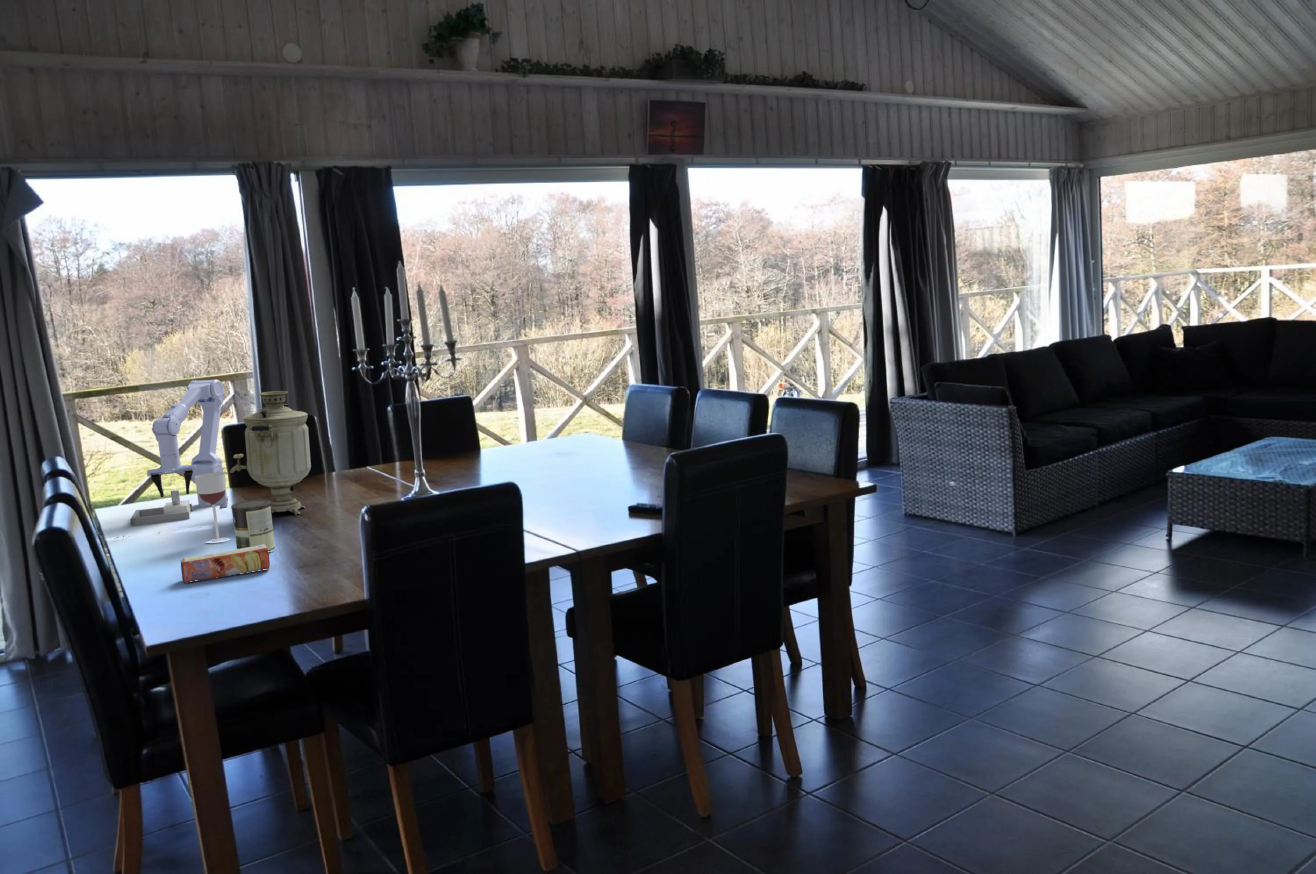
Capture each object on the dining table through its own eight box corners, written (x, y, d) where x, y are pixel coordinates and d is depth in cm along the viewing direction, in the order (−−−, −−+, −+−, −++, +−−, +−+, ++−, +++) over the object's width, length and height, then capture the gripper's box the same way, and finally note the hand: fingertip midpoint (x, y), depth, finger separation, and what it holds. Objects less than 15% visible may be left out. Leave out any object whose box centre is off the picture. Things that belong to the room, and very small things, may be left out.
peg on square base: (190, 511, 346) (187, 487, 345) (188, 517, 338) (185, 491, 337) (167, 514, 344) (164, 489, 343) (164, 520, 336) (161, 494, 334)
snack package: (182, 586, 264) (179, 560, 262) (183, 579, 270) (179, 554, 268) (271, 572, 272) (268, 547, 271) (269, 566, 278) (266, 541, 277)
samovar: (267, 502, 360) (254, 388, 354) (336, 502, 355) (324, 386, 348) (215, 524, 331) (199, 400, 325) (289, 523, 326) (274, 397, 320)
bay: (193, 513, 349) (191, 503, 348) (189, 522, 336) (188, 511, 335) (137, 520, 343) (135, 510, 343) (132, 529, 330) (130, 518, 330)
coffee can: (232, 558, 287) (225, 508, 285) (243, 548, 297) (237, 500, 295) (270, 555, 288) (264, 506, 286) (280, 546, 298) (274, 498, 296)
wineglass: (239, 537, 311) (231, 472, 308) (218, 545, 303) (209, 478, 300) (218, 536, 314) (209, 471, 311) (196, 544, 306) (188, 478, 303)
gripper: (143, 458, 331) (149, 500, 334) (192, 453, 336) (198, 494, 339) (146, 455, 338) (151, 496, 340) (194, 450, 343) (199, 490, 345)
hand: (175, 495), depth 340 cm, fingers open, 7 cm apart
